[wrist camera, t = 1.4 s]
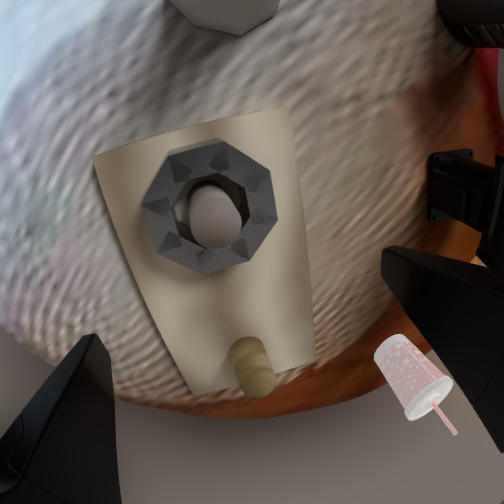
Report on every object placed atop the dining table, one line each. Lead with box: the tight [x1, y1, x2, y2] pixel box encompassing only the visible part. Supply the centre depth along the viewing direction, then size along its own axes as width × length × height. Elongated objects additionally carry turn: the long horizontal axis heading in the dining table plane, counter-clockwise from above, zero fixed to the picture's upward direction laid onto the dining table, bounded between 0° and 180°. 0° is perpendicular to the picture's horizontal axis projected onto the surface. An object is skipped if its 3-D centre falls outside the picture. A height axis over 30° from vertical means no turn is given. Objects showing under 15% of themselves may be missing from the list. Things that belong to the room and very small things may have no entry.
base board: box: [92, 108, 316, 398], centre depth 19 cm, size 12×22×6 cm, turn 11°
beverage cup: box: [374, 334, 458, 436], centre depth 26 cm, size 6×6×14 cm
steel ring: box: [140, 138, 278, 275], centre depth 17 cm, size 7×7×2 cm
